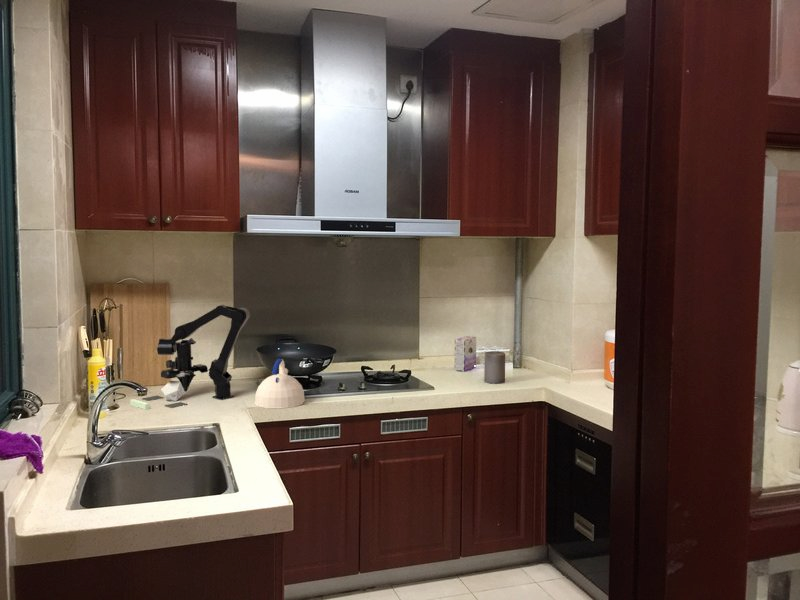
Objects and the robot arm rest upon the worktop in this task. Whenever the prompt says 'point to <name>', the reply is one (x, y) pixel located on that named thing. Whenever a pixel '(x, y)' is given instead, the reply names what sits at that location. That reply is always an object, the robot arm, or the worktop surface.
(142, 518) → the worktop surface
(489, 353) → the pillar candle
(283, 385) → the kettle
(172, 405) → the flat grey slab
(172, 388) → the die
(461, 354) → the candy box
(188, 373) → the robot arm
